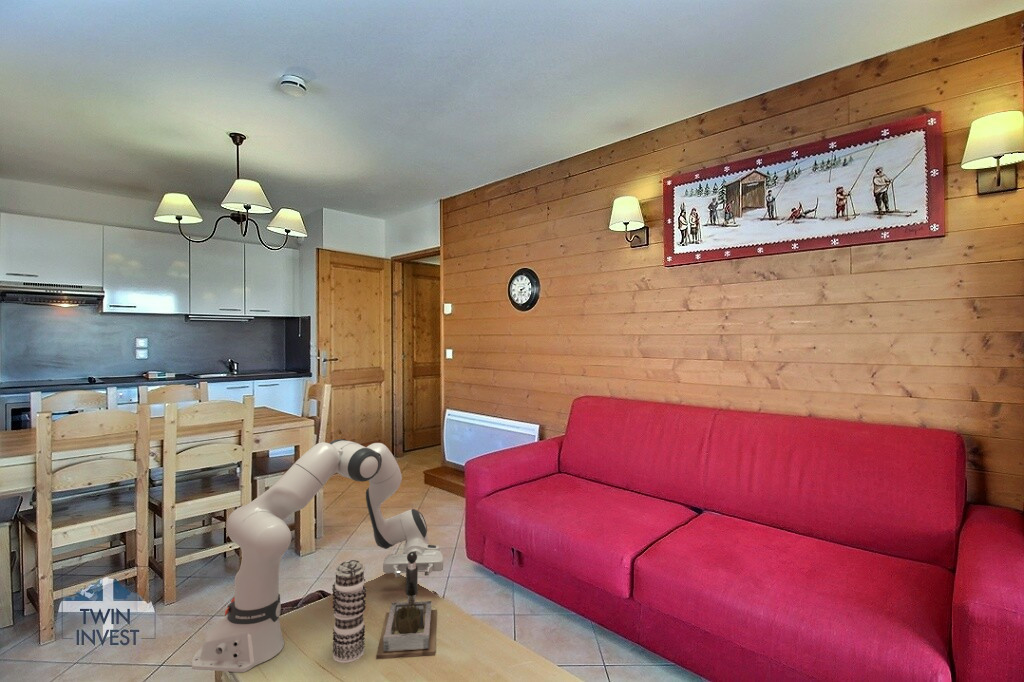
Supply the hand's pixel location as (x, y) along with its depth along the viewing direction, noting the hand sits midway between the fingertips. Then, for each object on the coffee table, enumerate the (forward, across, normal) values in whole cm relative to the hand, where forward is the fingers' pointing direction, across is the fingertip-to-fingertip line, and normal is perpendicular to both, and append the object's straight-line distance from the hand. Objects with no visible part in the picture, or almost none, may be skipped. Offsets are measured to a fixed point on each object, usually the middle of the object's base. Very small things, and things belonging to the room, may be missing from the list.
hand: (412, 573), depth 161 cm
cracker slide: (+14, 0, +10) cm, 17 cm away
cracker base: (+14, 0, +11) cm, 18 cm away
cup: (+16, 0, +12) cm, 20 cm away
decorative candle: (+21, -16, +12) cm, 29 cm away
